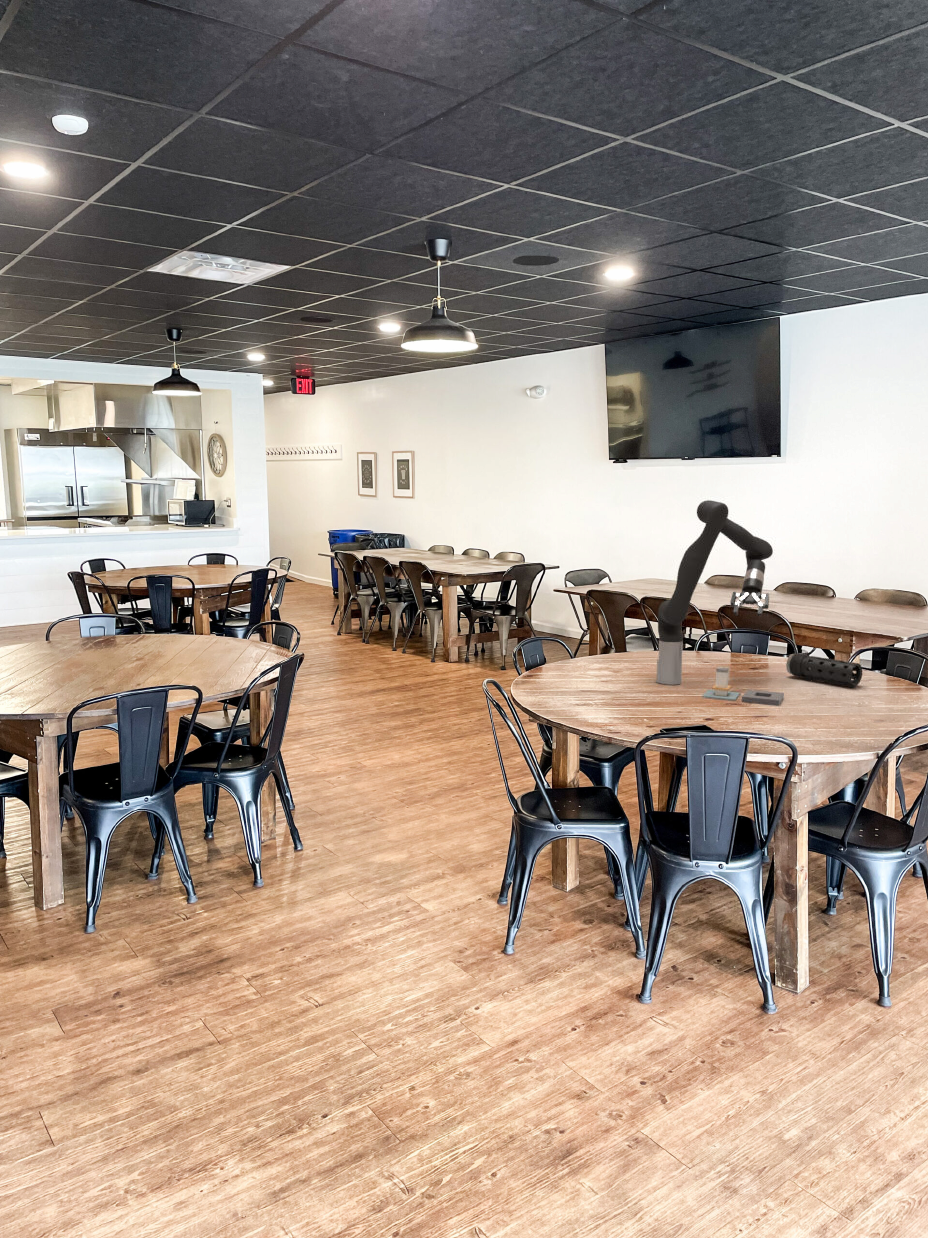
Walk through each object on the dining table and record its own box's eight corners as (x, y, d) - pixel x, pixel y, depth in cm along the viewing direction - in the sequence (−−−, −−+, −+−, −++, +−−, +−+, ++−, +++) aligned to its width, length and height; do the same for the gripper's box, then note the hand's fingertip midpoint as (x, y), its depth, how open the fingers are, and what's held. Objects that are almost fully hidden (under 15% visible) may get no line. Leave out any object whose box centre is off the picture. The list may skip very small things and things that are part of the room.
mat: (701, 697, 325) (702, 696, 325) (708, 691, 336) (708, 689, 336) (735, 700, 320) (735, 699, 320) (740, 694, 330) (740, 692, 330)
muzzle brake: (849, 690, 337) (851, 664, 336) (784, 678, 359) (785, 653, 357) (861, 687, 343) (863, 661, 341) (797, 675, 365) (798, 651, 363)
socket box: (741, 702, 318) (742, 696, 318) (747, 694, 330) (747, 689, 329) (779, 705, 312) (779, 700, 312) (783, 698, 324) (783, 692, 324)
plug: (711, 695, 326) (713, 669, 325) (714, 691, 332) (716, 666, 330) (728, 696, 324) (729, 670, 322) (731, 693, 329) (732, 667, 327)
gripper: (734, 576, 348) (727, 608, 340) (771, 577, 342) (765, 610, 333) (735, 588, 354) (729, 619, 345) (772, 589, 347) (767, 622, 339)
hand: (747, 615), depth 339 cm, fingers open, 8 cm apart
